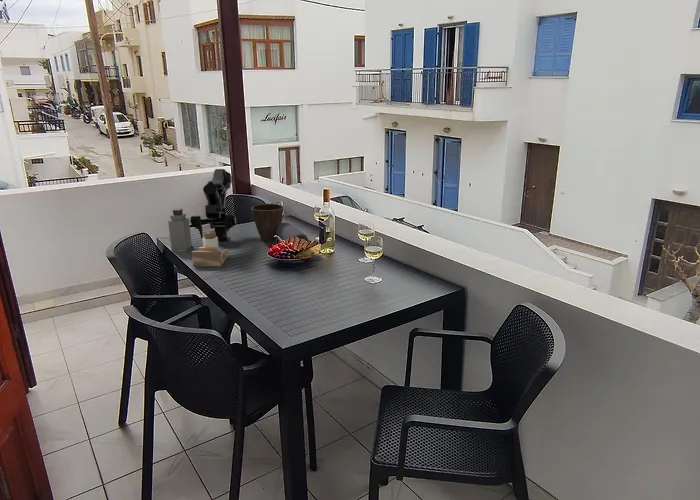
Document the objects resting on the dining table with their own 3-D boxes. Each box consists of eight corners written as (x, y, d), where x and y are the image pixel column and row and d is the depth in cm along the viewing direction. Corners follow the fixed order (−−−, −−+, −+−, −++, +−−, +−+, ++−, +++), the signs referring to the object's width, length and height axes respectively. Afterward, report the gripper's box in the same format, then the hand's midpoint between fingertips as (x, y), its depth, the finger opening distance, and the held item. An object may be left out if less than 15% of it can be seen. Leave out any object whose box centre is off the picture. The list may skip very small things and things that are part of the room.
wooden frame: (202, 256, 200) (201, 243, 199) (228, 257, 200) (227, 243, 198) (193, 265, 190) (191, 251, 188) (220, 266, 189) (219, 252, 187)
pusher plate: (201, 261, 193) (199, 246, 191) (218, 262, 193) (217, 247, 191) (200, 262, 192) (198, 247, 190) (217, 263, 192) (216, 248, 190)
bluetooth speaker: (310, 253, 205) (310, 231, 202) (290, 256, 201) (289, 234, 198) (293, 240, 225) (293, 220, 221) (275, 242, 221) (274, 222, 218)
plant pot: (250, 237, 229) (248, 205, 224) (279, 233, 235) (278, 202, 230) (258, 245, 216) (255, 211, 211) (289, 241, 222) (287, 208, 217)
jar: (211, 257, 200) (209, 229, 196) (222, 259, 197) (220, 231, 194) (201, 261, 195) (198, 233, 191) (212, 263, 192) (209, 235, 189)
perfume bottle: (186, 250, 209) (182, 211, 204) (171, 250, 209) (166, 211, 204) (191, 246, 215) (187, 207, 210) (177, 245, 216) (172, 207, 210)
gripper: (188, 197, 199) (186, 229, 192) (233, 196, 202) (233, 227, 195) (193, 211, 209) (191, 242, 202) (236, 210, 212) (236, 240, 205)
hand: (213, 237), depth 201 cm, fingers open, 9 cm apart
